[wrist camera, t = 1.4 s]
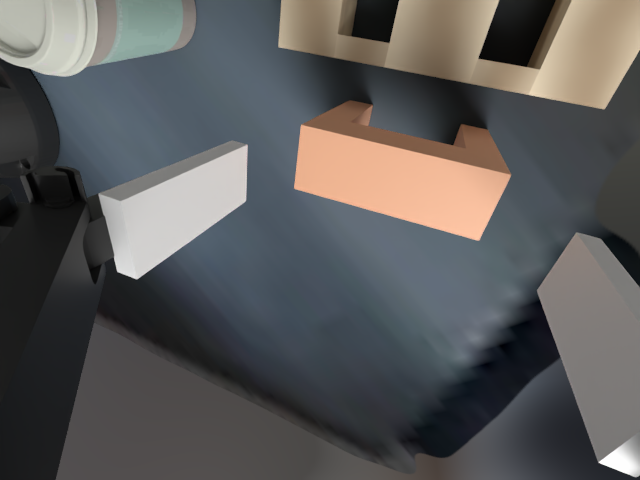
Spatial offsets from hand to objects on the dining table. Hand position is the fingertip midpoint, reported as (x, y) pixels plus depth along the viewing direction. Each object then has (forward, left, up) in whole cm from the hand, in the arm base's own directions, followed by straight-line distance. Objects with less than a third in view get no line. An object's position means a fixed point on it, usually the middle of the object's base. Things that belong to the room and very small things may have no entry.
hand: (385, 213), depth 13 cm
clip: (0, 0, -14) cm, 13 cm away
